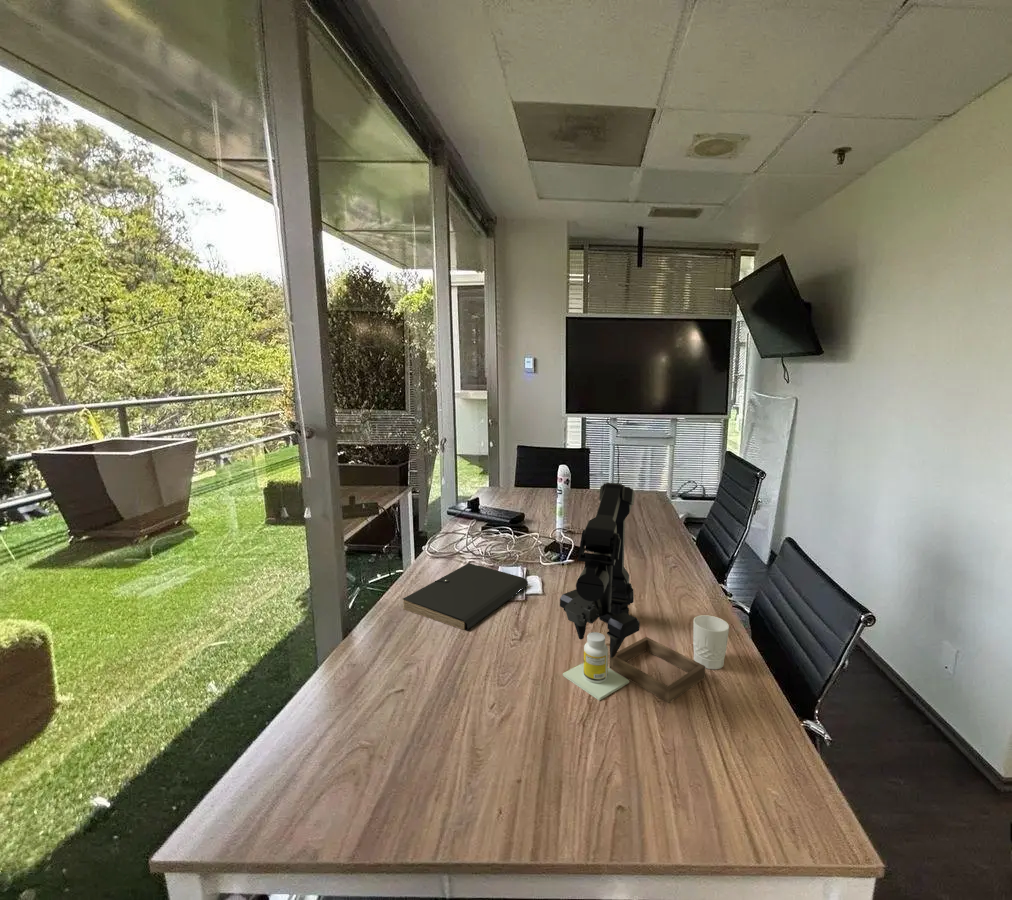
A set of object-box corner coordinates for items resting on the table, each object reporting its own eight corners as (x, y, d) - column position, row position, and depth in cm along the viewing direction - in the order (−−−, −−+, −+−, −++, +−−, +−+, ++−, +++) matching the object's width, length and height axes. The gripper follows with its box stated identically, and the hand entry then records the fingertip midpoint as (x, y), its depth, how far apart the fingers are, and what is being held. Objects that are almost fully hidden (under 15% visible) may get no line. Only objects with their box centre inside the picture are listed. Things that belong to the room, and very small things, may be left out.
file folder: (468, 561, 171) (528, 578, 158) (468, 572, 171) (527, 589, 159) (401, 597, 143) (467, 620, 130) (402, 610, 144) (467, 634, 131)
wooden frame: (609, 667, 115) (609, 655, 114) (645, 647, 123) (646, 636, 123) (668, 703, 102) (669, 690, 102) (704, 678, 111) (705, 666, 110)
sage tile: (562, 675, 112) (562, 673, 112) (592, 660, 118) (592, 658, 118) (599, 700, 103) (599, 698, 103) (629, 682, 109) (629, 680, 109)
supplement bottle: (590, 666, 114) (591, 627, 113) (611, 675, 111) (613, 635, 109) (578, 677, 110) (579, 637, 109) (600, 687, 107) (601, 645, 105)
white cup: (705, 673, 113) (707, 633, 111) (684, 655, 120) (686, 617, 119) (733, 668, 115) (736, 628, 113) (711, 650, 122) (713, 613, 121)
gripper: (542, 577, 109) (541, 641, 111) (607, 608, 95) (604, 681, 97) (577, 565, 116) (575, 626, 118) (642, 592, 101) (639, 661, 104)
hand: (596, 647), depth 109 cm, fingers open, 9 cm apart
